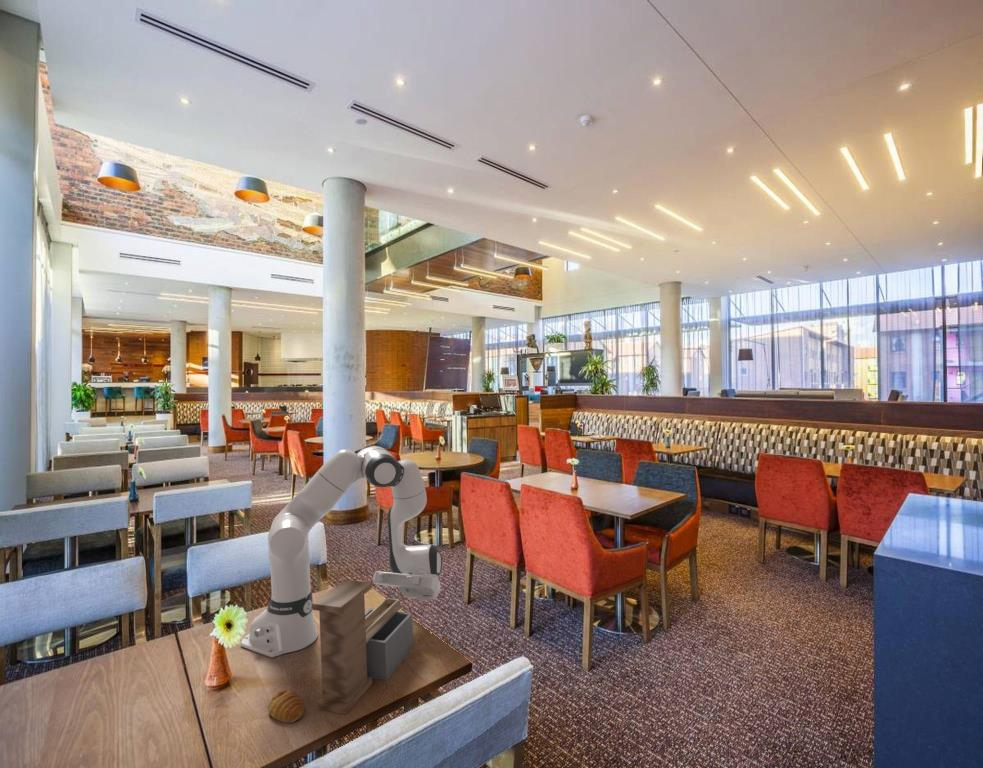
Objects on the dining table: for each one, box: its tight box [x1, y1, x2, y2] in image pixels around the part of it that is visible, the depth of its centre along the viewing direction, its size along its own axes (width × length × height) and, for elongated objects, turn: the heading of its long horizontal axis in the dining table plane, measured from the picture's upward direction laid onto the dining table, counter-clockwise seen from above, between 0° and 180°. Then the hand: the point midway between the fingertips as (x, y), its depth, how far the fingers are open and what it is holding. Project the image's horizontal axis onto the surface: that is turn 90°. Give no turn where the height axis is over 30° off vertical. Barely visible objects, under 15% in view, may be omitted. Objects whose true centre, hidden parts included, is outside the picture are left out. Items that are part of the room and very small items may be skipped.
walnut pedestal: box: [312, 579, 373, 715], centre depth 122 cm, size 8×14×26 cm, turn 163°
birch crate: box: [365, 597, 401, 643], centre depth 136 cm, size 4×19×3 cm, turn 163°
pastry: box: [267, 689, 305, 723], centre depth 116 cm, size 9×7×4 cm
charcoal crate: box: [365, 608, 414, 681], centre depth 136 cm, size 14×16×10 cm
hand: (394, 577), depth 146 cm, fingers open, 8 cm apart
